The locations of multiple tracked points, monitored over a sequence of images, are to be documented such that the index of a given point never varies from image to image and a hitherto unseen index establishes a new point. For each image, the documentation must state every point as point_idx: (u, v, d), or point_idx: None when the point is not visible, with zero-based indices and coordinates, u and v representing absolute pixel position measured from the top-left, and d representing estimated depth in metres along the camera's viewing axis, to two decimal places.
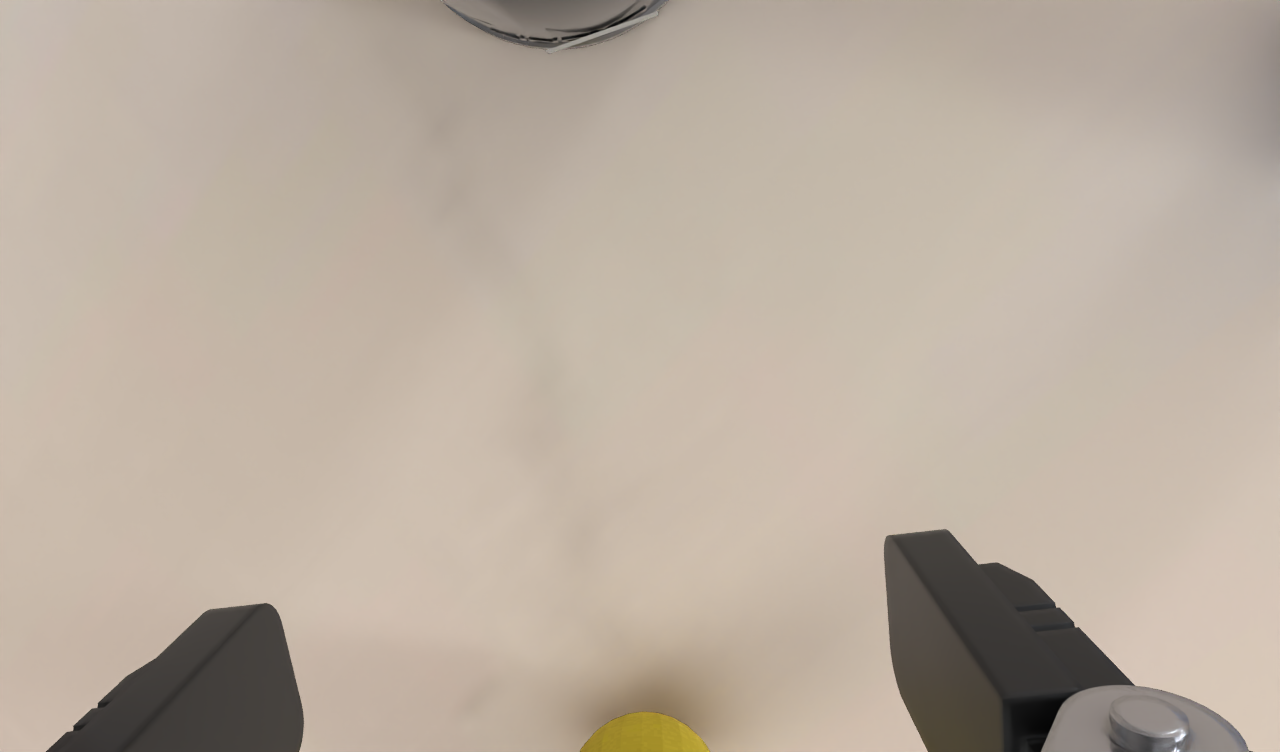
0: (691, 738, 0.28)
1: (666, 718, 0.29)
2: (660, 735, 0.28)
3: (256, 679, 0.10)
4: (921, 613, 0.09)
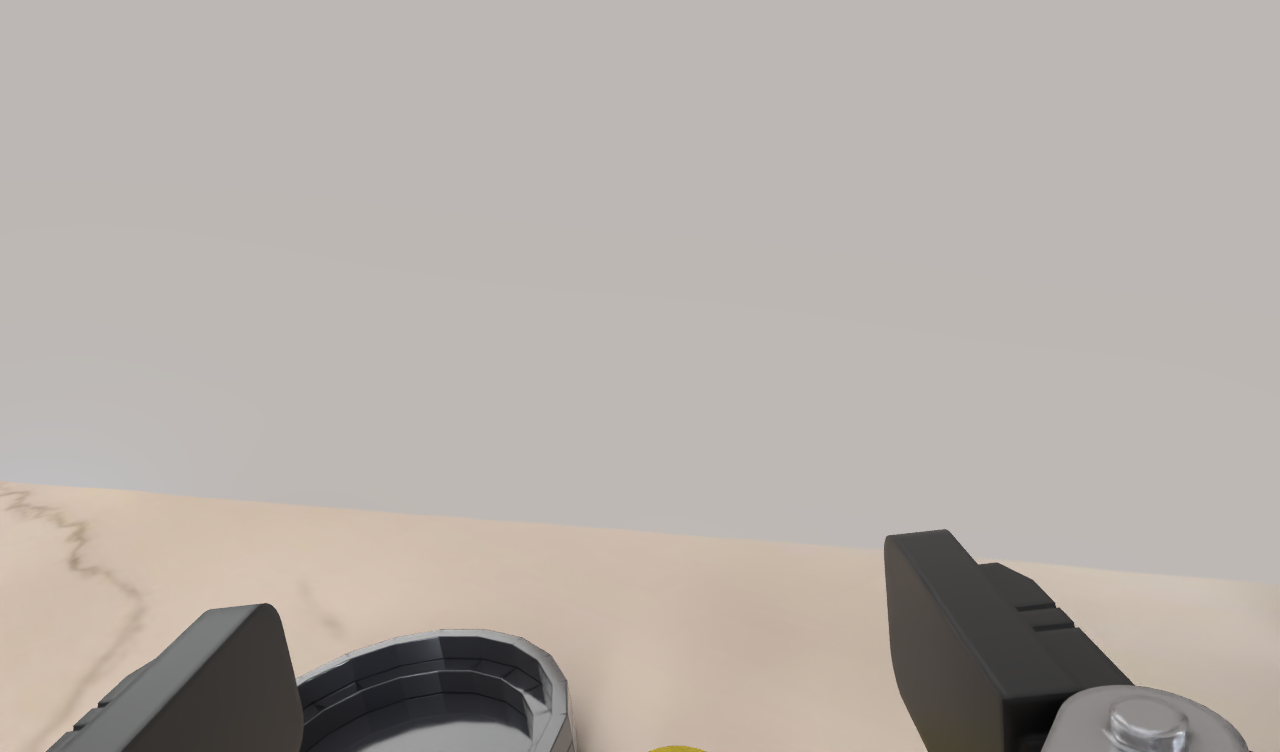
0: None
1: None
2: None
3: (256, 679, 0.10)
4: (921, 613, 0.09)
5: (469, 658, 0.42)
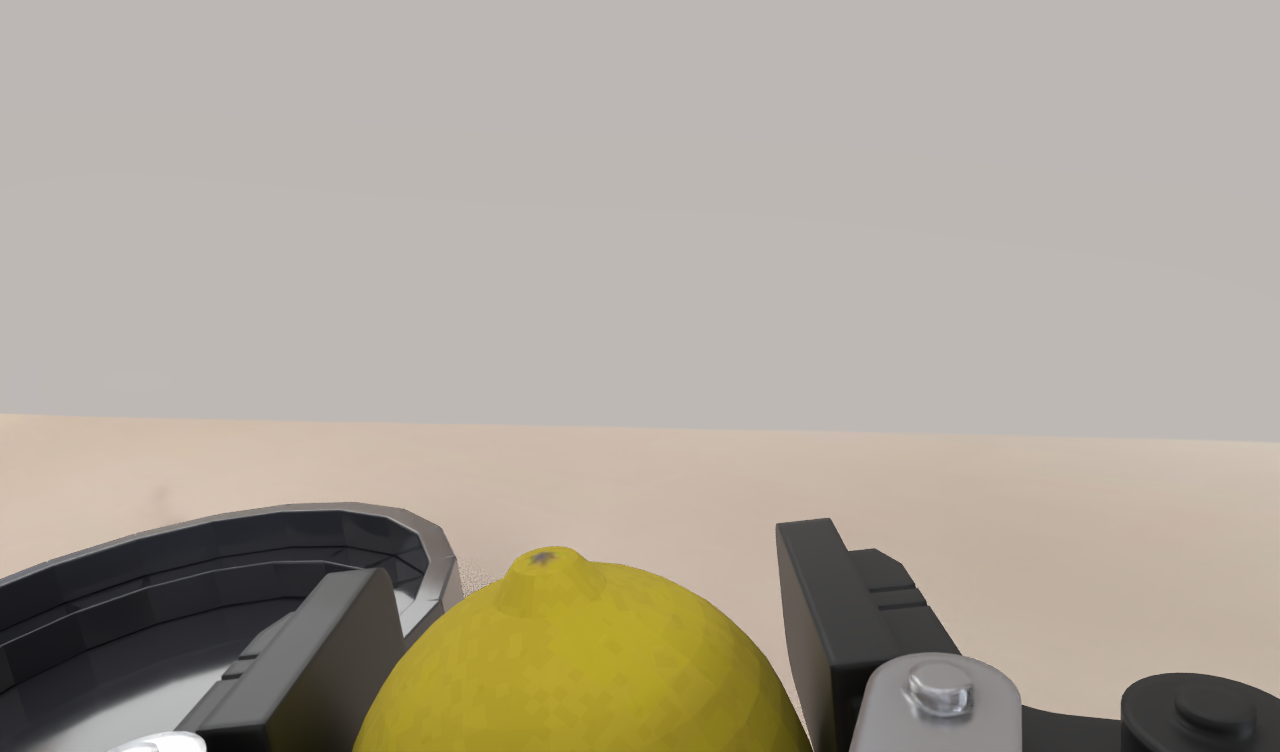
0: None
1: None
2: None
3: (376, 637, 0.11)
4: (794, 594, 0.10)
5: (327, 545, 0.27)
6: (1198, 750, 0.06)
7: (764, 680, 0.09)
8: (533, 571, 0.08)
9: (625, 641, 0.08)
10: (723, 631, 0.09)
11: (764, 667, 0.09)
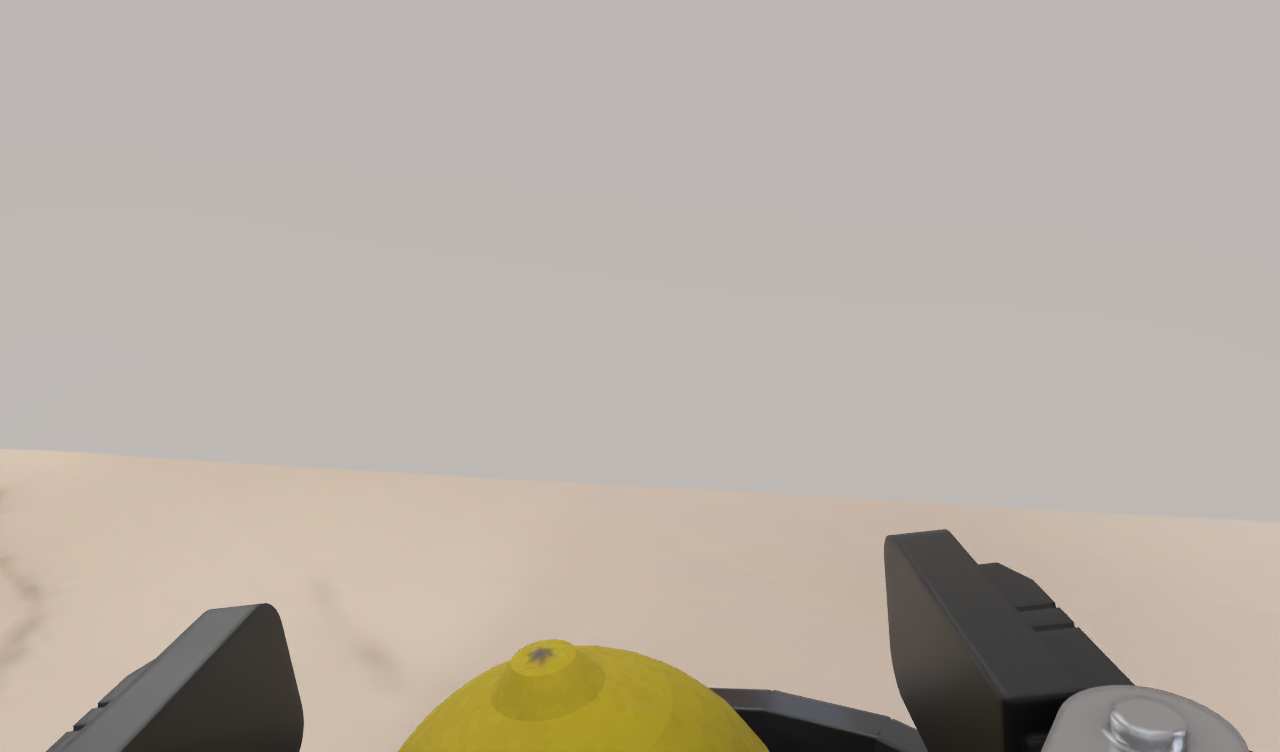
0: None
1: None
2: None
3: (256, 679, 0.10)
4: (921, 613, 0.09)
5: None
6: None
7: None
8: (532, 672, 0.08)
9: (624, 747, 0.08)
10: (721, 725, 0.09)
11: None
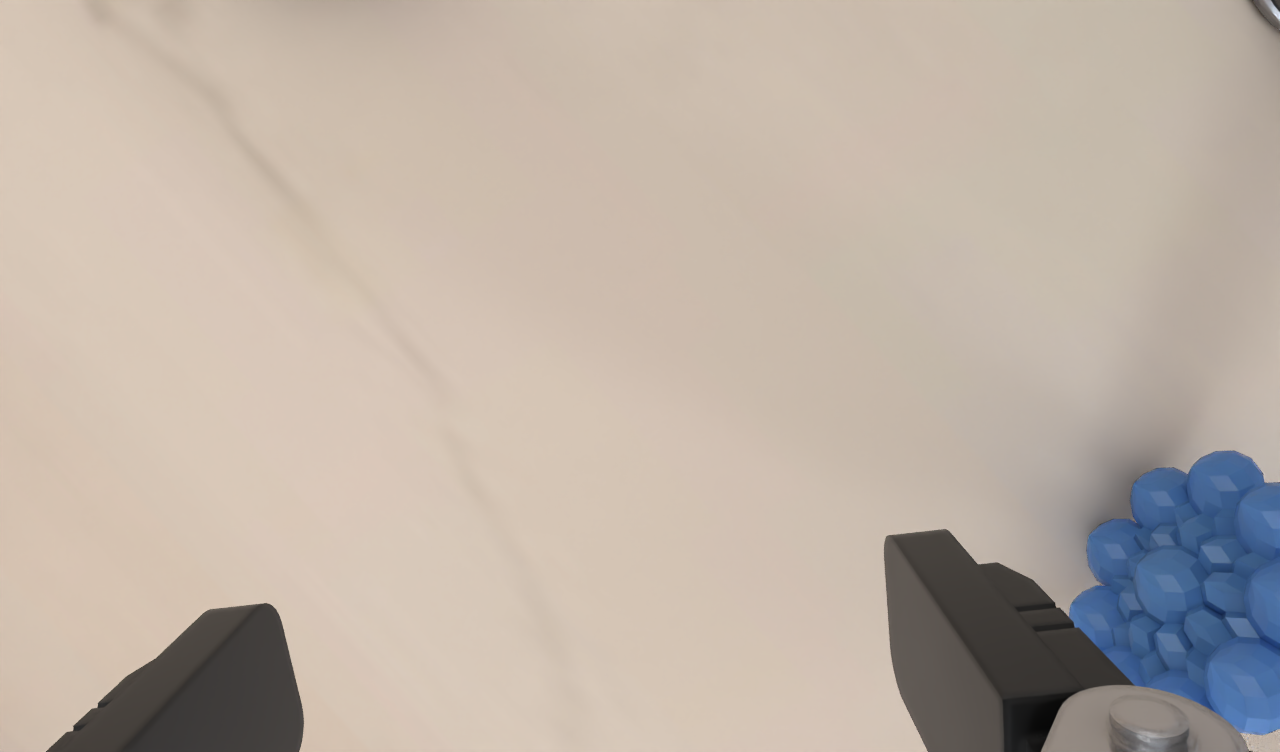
0: None
1: None
2: None
3: (256, 679, 0.10)
4: (921, 613, 0.09)
5: None
6: None
7: None
8: None
9: None
10: None
11: None
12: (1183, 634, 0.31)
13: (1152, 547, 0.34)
